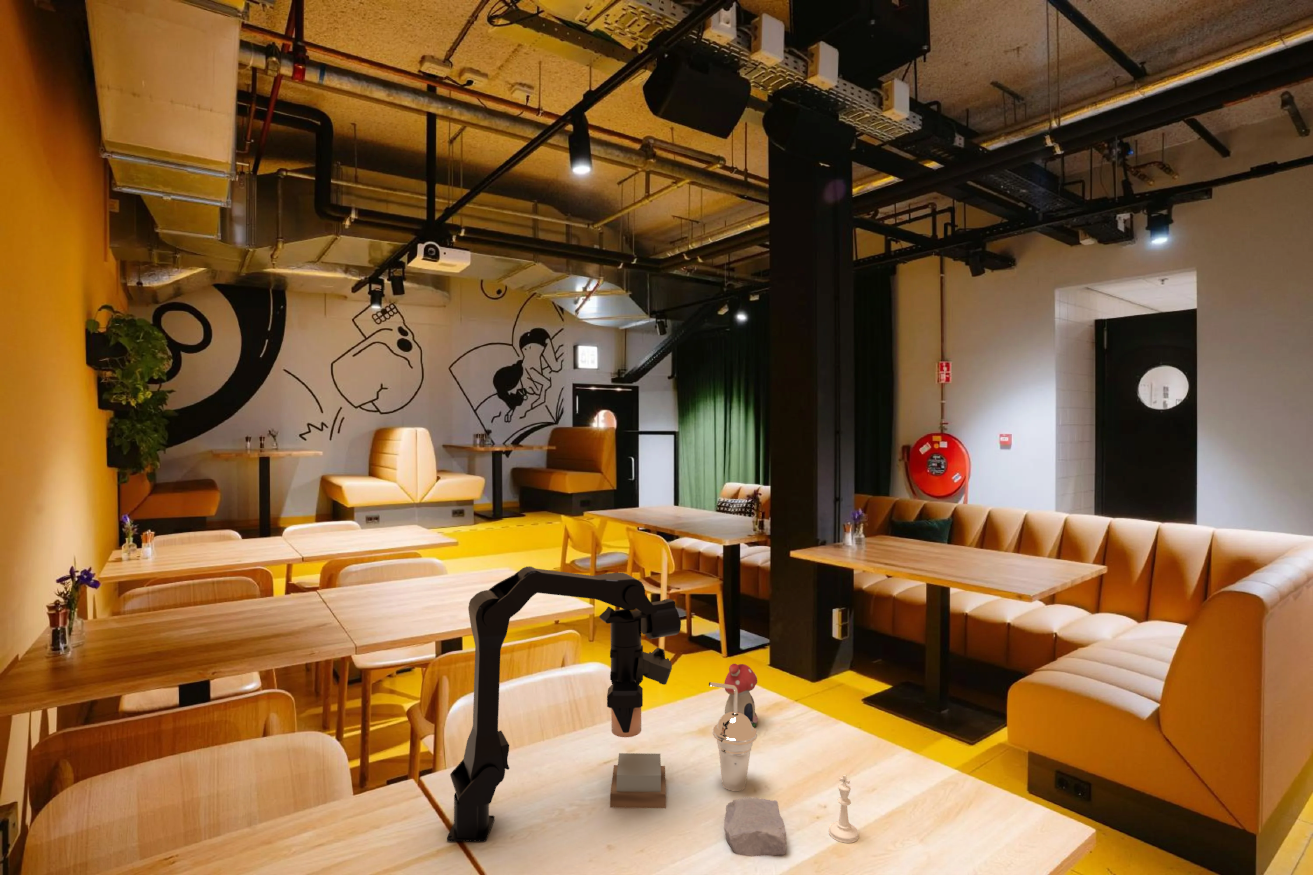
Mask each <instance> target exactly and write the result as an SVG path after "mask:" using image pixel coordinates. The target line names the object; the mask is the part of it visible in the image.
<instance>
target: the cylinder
mask: <svg viewBox="0 0 1313 875" xmlns="http://www.w3.org/2000/svg"><path fill="white" fill-rule="evenodd" d="M610 710H611V713H610V714H611V716H610V717H611V718H610V719H611V723H610V724H611V733H612V734H613V735H614V736H615V737H618V738H632V737H636V736H638V735H639V734H641V732H642V707H640V708H634V711H633V715H632V720H631V725H630V730H629V732H628V733H623V731H622V729H621V727H620V724H619V722H618V720H617V718H616V716H615V714H614V712H613V710H612V708H610Z"/></svg>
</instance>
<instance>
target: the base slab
mask: <svg viewBox="0 0 1313 875" xmlns="http://www.w3.org/2000/svg"><path fill="white" fill-rule="evenodd" d="M617 768H618V764H614V765H613V769H612V777H611V784H610V793H609V794H610V795H609V808H620V809H621V808H624V809H627V808H629V809H630V808H631V809H632V808H633V809H666V807H667V790H666V789H667V788H666V787H667V786H666V785H667V784H666V766H665V765H661V792H622V791H617Z"/></svg>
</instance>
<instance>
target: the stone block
mask: <svg viewBox="0 0 1313 875" xmlns="http://www.w3.org/2000/svg"><path fill="white" fill-rule="evenodd" d="M723 830H724V832H725V838H726V841H727V843H728V845H729V846H730V848H731V849H732V851H733V853H735V854H736V855H740V856H746V857H761V856H769V857H770V856H771V857H773V856H785V854H786V853H787V847H786V846H787V831H786V828H785V823H784V819H783V817H782V815H781V813H780V807H779V802H778V800H776V799H774V800H773V799H772V800H771V799H767V798H759V797H742V798H738V799H733V800H732V801H730V802H728V803H727V804H726V807H725V814H724V819H723Z"/></svg>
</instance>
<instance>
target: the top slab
mask: <svg viewBox="0 0 1313 875" xmlns="http://www.w3.org/2000/svg"><path fill="white" fill-rule="evenodd" d="M617 760H618V761H617V765H618V768H617V791H622V792H661V766H662V764H661V753H641V752H640V753H631V752H629V753H625V752H624V753H623V752H619V753H618V758H617Z"/></svg>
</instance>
